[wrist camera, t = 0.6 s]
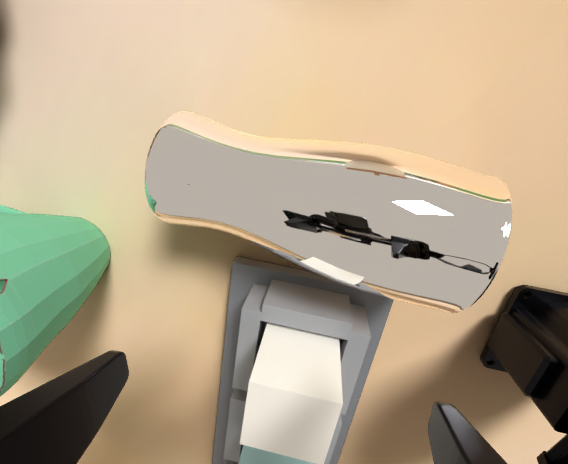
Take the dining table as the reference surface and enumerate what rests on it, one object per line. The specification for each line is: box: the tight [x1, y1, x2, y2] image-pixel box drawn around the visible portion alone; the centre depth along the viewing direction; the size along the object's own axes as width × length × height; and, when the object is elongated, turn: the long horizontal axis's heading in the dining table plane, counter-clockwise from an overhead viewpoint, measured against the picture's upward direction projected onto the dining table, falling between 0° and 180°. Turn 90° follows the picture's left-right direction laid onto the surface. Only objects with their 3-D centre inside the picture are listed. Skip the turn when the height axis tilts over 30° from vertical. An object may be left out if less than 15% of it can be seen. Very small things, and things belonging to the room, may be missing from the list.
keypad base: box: [212, 256, 394, 464], centre depth 23 cm, size 11×24×4 cm, turn 171°
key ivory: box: [240, 322, 343, 464], centre depth 17 cm, size 4×4×5 cm
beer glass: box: [144, 111, 513, 313], centre depth 15 cm, size 7×7×15 cm
